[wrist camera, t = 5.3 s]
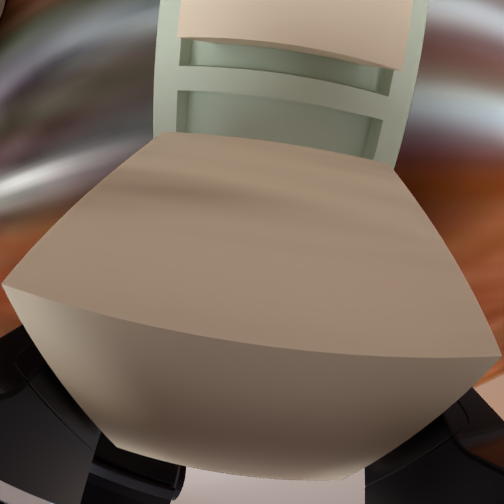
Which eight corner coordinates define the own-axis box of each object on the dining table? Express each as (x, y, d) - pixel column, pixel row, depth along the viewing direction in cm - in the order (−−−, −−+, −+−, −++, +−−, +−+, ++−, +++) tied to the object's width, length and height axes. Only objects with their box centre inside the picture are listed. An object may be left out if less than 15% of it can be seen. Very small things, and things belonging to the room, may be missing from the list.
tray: (342, 265, 18) (358, 347, 13) (173, 241, 18) (137, 317, 13) (411, -60, 6) (470, -99, 2) (196, -92, 7) (151, -147, 2)
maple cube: (334, 318, 11) (342, 480, 6) (172, 294, 11) (116, 447, 6) (388, 163, 7) (501, 355, 3) (163, 131, 8) (1, 283, 3)
